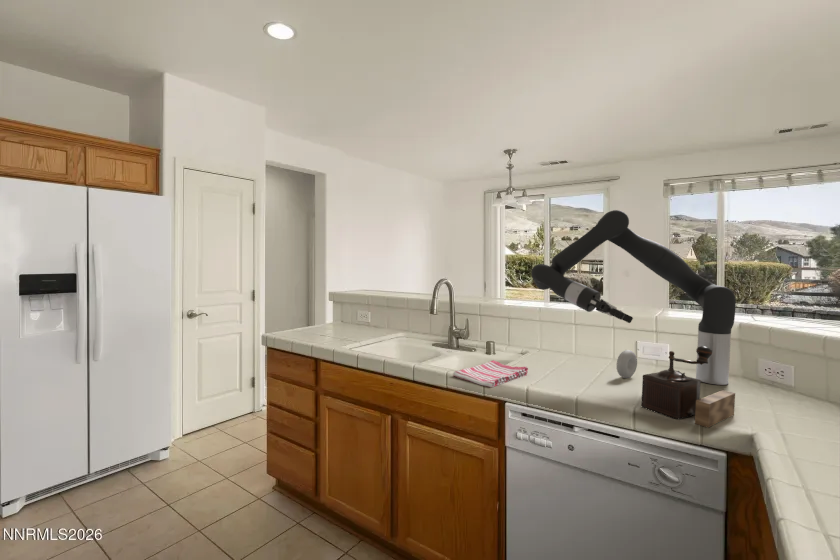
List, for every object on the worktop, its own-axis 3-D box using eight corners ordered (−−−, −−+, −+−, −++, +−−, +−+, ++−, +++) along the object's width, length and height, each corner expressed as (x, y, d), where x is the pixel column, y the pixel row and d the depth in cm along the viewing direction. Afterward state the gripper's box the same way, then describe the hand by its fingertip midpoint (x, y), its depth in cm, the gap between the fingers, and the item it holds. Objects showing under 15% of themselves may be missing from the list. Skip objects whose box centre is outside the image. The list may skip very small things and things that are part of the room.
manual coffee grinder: (679, 421, 107) (683, 352, 106) (639, 407, 117) (642, 344, 116) (713, 411, 114) (716, 347, 113) (673, 399, 124) (676, 339, 123)
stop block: (721, 411, 114) (722, 390, 114) (734, 414, 112) (735, 393, 111) (694, 423, 105) (696, 400, 105) (708, 427, 103) (709, 404, 102)
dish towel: (529, 376, 148) (530, 366, 148) (491, 389, 132) (491, 379, 131) (490, 366, 160) (490, 357, 160) (451, 378, 144) (451, 368, 144)
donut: (623, 381, 141) (624, 352, 141) (613, 378, 144) (614, 350, 144) (638, 377, 147) (639, 349, 147) (629, 374, 150) (630, 347, 149)
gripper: (579, 282, 135) (626, 304, 124) (595, 290, 146) (639, 311, 135) (568, 302, 136) (614, 326, 125) (584, 309, 147) (628, 331, 136)
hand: (627, 318), depth 130 cm, fingers open, 8 cm apart
